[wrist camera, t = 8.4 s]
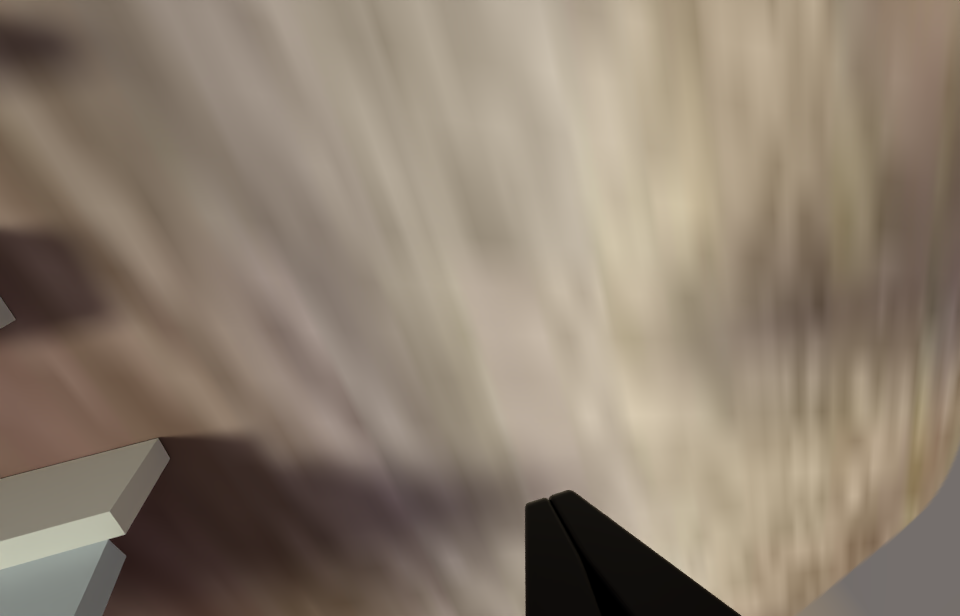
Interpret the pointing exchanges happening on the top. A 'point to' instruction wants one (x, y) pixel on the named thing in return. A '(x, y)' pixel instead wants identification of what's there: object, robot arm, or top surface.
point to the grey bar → (5, 315)
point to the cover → (62, 582)
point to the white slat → (76, 501)
